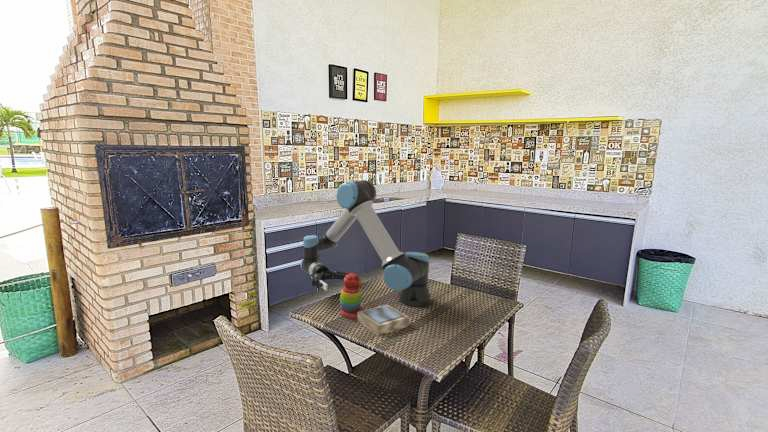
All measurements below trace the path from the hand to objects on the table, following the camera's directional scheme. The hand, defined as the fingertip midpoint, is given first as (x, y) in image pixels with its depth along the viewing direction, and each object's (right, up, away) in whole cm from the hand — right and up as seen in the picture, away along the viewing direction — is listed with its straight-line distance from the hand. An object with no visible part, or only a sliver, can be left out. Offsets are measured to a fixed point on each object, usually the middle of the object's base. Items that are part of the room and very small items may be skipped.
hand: (340, 284), depth 169 cm
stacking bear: (+5, -12, -6) cm, 14 cm away
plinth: (+19, -13, -14) cm, 27 cm away
